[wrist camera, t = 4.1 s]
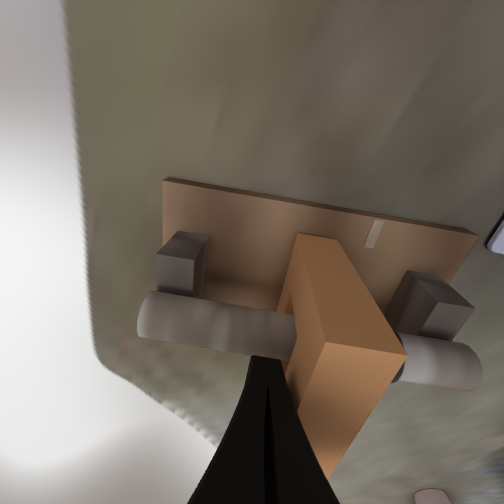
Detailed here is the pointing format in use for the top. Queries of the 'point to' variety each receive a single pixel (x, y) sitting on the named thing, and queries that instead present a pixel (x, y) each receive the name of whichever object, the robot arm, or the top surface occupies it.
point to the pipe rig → (275, 268)
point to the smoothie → (431, 497)
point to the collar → (334, 347)
